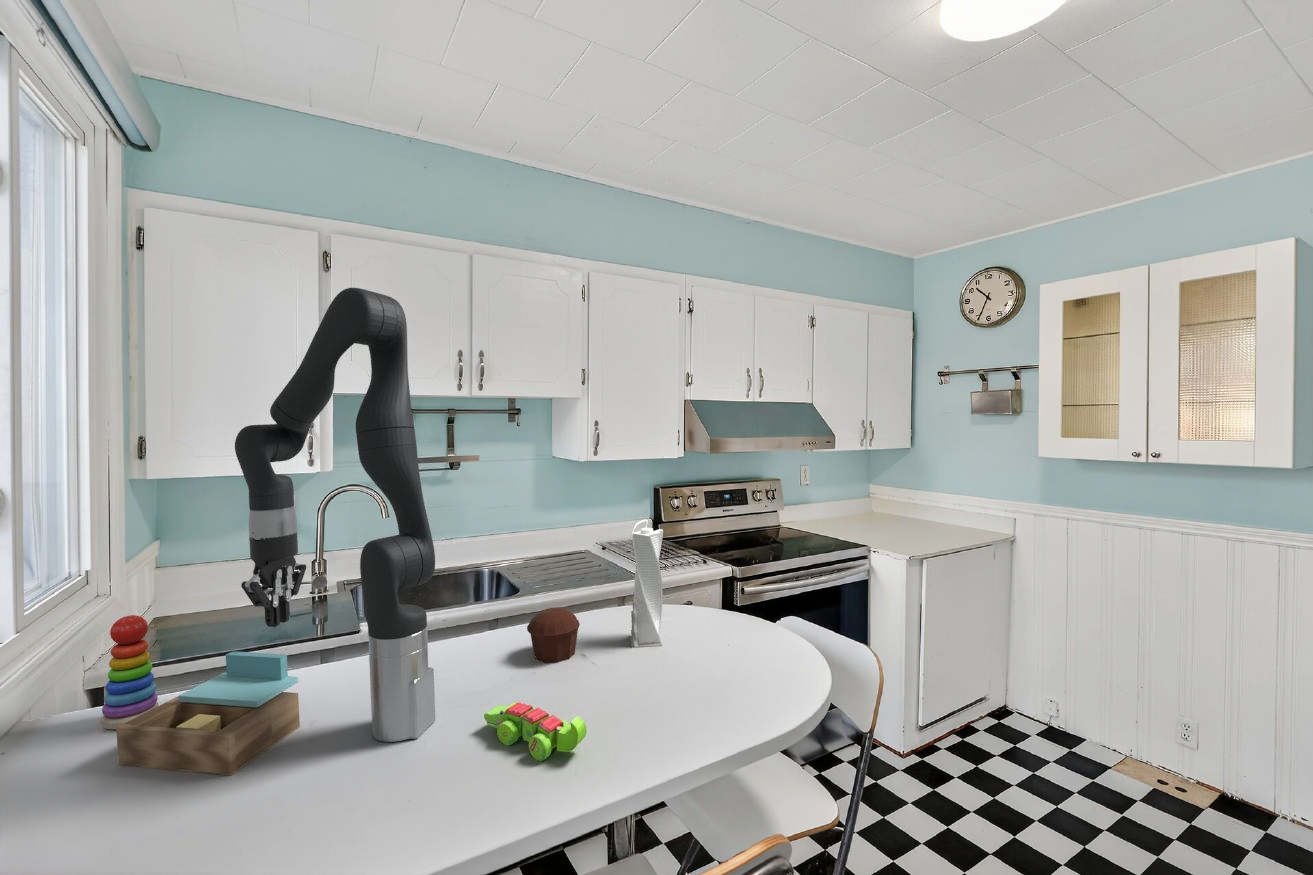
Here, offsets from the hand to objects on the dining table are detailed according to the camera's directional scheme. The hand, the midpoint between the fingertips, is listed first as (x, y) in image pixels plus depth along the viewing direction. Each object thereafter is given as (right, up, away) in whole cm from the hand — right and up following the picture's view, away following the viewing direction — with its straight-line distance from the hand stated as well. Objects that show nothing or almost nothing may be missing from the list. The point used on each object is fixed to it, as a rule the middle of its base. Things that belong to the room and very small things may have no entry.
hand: (277, 623), depth 113 cm
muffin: (+48, -14, +21) cm, 54 cm away
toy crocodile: (+51, -15, -14) cm, 55 cm away
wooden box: (-2, -16, -13) cm, 21 cm away
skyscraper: (+69, -13, +29) cm, 75 cm away
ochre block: (-3, -16, -16) cm, 22 cm away
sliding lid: (-1, -9, -8) cm, 13 cm away
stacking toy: (-23, -16, -5) cm, 28 cm away
